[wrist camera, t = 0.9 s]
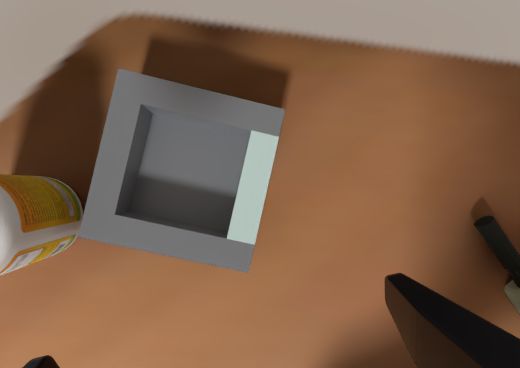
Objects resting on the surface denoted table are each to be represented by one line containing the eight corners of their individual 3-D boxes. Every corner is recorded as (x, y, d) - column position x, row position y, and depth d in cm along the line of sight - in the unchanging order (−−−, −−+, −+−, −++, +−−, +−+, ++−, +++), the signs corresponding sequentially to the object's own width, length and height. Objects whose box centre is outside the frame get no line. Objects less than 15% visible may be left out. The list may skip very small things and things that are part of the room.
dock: (246, 259, 22) (248, 272, 19) (103, 228, 21) (77, 237, 18) (277, 121, 22) (285, 109, 19) (137, 87, 22) (118, 68, 18)
